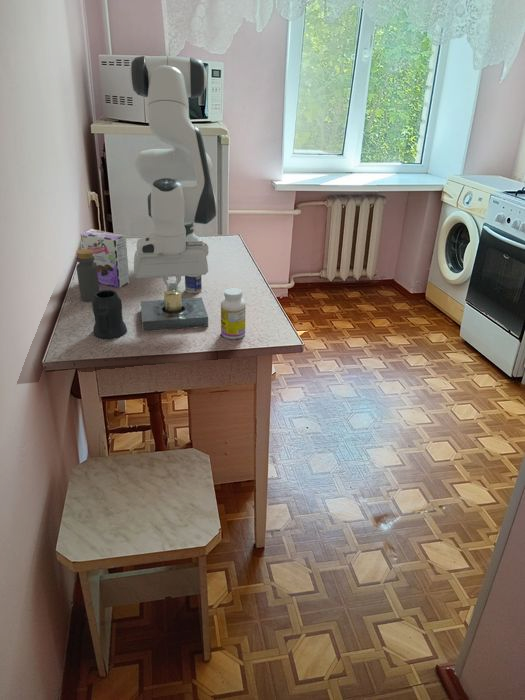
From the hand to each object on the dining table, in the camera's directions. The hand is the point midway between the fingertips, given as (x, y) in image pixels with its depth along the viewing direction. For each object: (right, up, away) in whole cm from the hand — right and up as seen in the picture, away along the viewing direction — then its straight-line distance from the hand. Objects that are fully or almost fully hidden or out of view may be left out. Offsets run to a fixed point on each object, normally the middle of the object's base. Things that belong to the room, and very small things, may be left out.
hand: (172, 290), depth 150 cm
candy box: (-26, +6, +27) cm, 38 cm away
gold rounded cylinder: (0, -8, +4) cm, 9 cm away
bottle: (-28, -1, +15) cm, 32 cm away
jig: (0, -8, +4) cm, 9 cm away
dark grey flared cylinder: (-16, -13, -6) cm, 21 cm away
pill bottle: (+3, +2, +23) cm, 23 cm away
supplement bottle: (+17, -13, -4) cm, 22 cm away
